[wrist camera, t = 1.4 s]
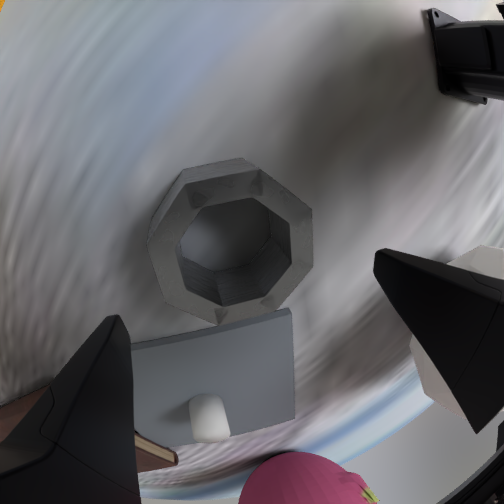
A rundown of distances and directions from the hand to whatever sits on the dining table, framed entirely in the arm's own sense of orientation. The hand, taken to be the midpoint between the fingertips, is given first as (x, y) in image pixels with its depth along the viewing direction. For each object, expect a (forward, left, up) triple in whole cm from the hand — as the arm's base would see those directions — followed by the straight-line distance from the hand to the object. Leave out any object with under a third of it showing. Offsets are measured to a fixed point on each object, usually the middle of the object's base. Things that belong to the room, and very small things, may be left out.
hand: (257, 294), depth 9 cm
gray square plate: (+4, +13, -6) cm, 15 cm away
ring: (0, 0, -6) cm, 6 cm away
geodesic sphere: (-18, +10, -6) cm, 21 cm away
